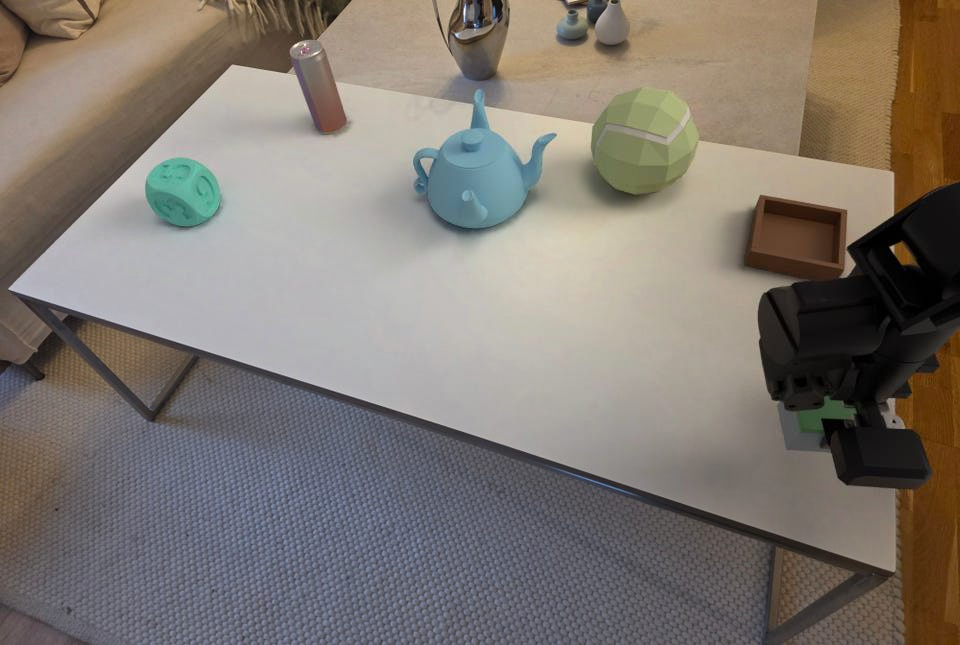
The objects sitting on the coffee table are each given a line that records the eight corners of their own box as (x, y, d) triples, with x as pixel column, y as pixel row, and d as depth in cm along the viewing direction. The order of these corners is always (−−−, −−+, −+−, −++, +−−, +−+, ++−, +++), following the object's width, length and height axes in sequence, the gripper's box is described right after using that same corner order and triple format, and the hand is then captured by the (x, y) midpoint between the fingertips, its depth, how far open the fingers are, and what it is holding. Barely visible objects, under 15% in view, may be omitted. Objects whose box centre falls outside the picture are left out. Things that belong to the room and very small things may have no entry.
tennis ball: (610, 141, 100) (619, 58, 88) (697, 164, 95) (720, 79, 83) (574, 197, 93) (579, 114, 81) (666, 225, 88) (687, 141, 76)
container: (839, 407, 60) (860, 383, 56) (852, 455, 57) (876, 433, 53) (775, 404, 61) (791, 379, 57) (785, 451, 58) (803, 429, 54)
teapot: (559, 195, 94) (561, 130, 84) (474, 260, 87) (465, 197, 77) (485, 150, 102) (479, 86, 92) (402, 206, 95) (386, 143, 85)
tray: (753, 210, 88) (760, 194, 86) (838, 225, 85) (847, 209, 82) (744, 265, 82) (750, 250, 80) (835, 284, 79) (844, 269, 76)
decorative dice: (184, 193, 102) (160, 155, 95) (226, 195, 101) (205, 157, 94) (163, 226, 97) (136, 189, 91) (207, 228, 96) (182, 191, 90)
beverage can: (310, 133, 109) (281, 56, 97) (325, 113, 112) (299, 37, 100) (338, 137, 108) (312, 60, 95) (352, 117, 111) (329, 40, 99)
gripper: (764, 240, 51) (720, 340, 64) (811, 437, 41) (747, 510, 53) (901, 242, 50) (829, 344, 63) (988, 447, 39) (879, 519, 52)
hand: (818, 421), depth 58 cm, fingers closed on container, 5 cm apart
